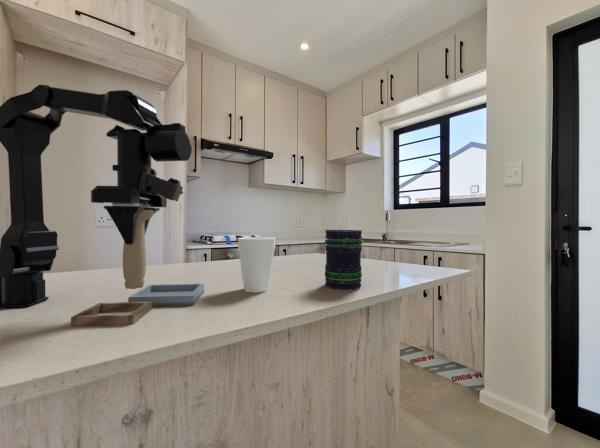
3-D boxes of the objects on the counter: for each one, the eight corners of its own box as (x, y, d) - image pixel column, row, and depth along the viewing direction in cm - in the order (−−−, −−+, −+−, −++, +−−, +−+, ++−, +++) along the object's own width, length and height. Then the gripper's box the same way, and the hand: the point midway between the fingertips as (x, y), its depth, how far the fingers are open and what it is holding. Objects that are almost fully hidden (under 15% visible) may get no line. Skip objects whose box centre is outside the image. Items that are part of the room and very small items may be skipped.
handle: (117, 286, 59) (117, 209, 59) (154, 284, 61) (154, 210, 61) (112, 291, 55) (112, 209, 54) (151, 289, 57) (152, 209, 57)
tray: (128, 307, 60) (128, 297, 60) (149, 293, 72) (149, 284, 72) (193, 305, 62) (193, 295, 62) (204, 291, 73) (204, 283, 73)
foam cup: (278, 286, 80) (278, 237, 80) (271, 294, 71) (271, 239, 71) (243, 285, 81) (243, 236, 81) (232, 293, 72) (232, 239, 72)
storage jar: (367, 289, 77) (368, 231, 77) (331, 290, 75) (331, 231, 75) (353, 281, 87) (353, 229, 87) (320, 282, 85) (320, 229, 85)
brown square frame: (71, 326, 49) (71, 317, 49) (99, 310, 58) (99, 302, 58) (133, 324, 51) (133, 315, 51) (151, 309, 59) (151, 301, 59)
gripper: (161, 152, 49) (161, 247, 50) (190, 171, 68) (190, 240, 68) (88, 150, 48) (89, 248, 48) (138, 169, 67) (138, 240, 67)
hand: (134, 243), depth 58 cm, fingers closed on handle, 4 cm apart
